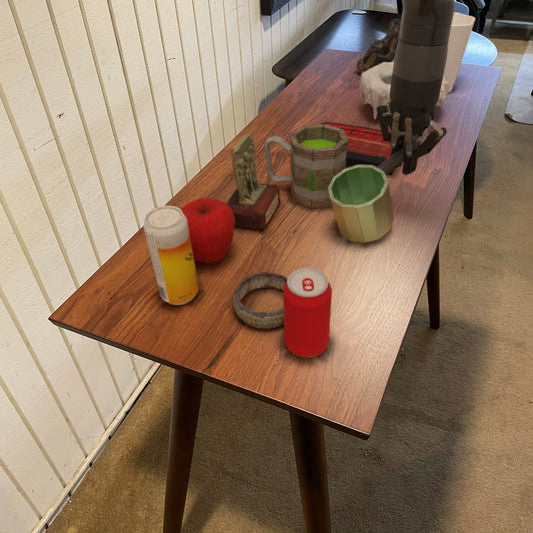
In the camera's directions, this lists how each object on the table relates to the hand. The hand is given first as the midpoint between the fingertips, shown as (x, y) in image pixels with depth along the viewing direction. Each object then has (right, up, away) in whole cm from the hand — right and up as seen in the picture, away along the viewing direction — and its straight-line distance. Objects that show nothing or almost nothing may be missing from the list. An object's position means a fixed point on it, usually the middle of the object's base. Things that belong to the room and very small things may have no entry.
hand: (401, 169), depth 89 cm
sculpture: (-26, -7, +7) cm, 28 cm away
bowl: (+9, +21, +37) cm, 43 cm away
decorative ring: (-23, -23, -11) cm, 35 cm away
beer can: (-37, -21, -8) cm, 43 cm away
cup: (+22, +30, +47) cm, 60 cm away
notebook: (-4, +9, +25) cm, 27 cm away
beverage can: (-18, -28, -16) cm, 37 cm away
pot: (-3, -6, +3) cm, 7 cm away
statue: (+7, +37, +55) cm, 67 cm away
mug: (-16, -2, +12) cm, 20 cm away
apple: (-33, -15, -1) cm, 36 cm away
